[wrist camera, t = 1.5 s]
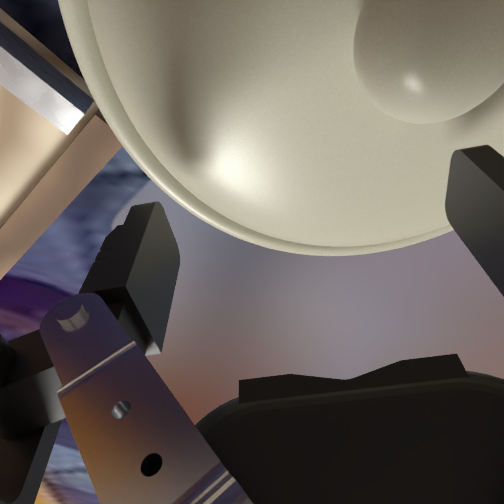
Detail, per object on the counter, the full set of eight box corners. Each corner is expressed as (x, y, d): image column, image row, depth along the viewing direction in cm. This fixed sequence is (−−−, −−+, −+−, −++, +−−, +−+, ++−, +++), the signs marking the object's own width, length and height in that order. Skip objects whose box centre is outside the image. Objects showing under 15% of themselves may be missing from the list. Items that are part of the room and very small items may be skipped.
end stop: (-79, -4, 22) (-108, 3, 20) (-65, -33, 21) (-94, -30, 20) (78, 120, 27) (67, 135, 25) (94, 100, 26) (84, 114, 25)
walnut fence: (-38, 273, 36) (-47, 286, 34) (101, 105, 27) (95, 114, 25) (-10, 287, 37) (-18, 299, 36) (131, 131, 28) (127, 140, 27)
